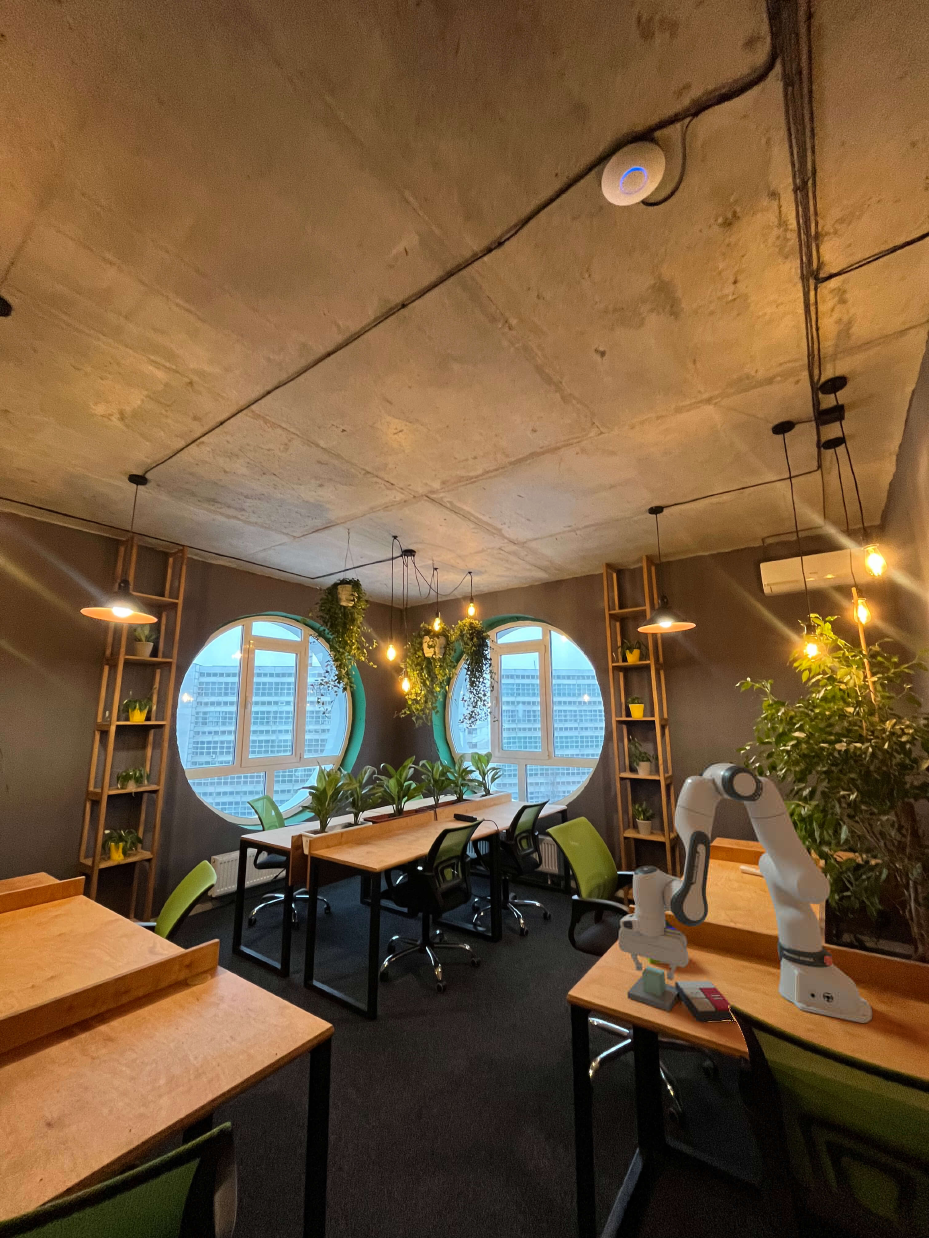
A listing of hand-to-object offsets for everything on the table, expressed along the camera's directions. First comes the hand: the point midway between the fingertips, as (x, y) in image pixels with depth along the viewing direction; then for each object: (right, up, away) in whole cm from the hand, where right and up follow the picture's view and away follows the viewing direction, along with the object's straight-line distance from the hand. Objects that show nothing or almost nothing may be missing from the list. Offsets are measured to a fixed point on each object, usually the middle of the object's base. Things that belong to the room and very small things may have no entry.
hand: (654, 974), depth 153 cm
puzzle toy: (+11, -11, +24) cm, 28 cm away
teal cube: (0, -4, -1) cm, 4 cm away
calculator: (+12, -5, -7) cm, 15 cm away
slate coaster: (0, -6, -1) cm, 6 cm away
